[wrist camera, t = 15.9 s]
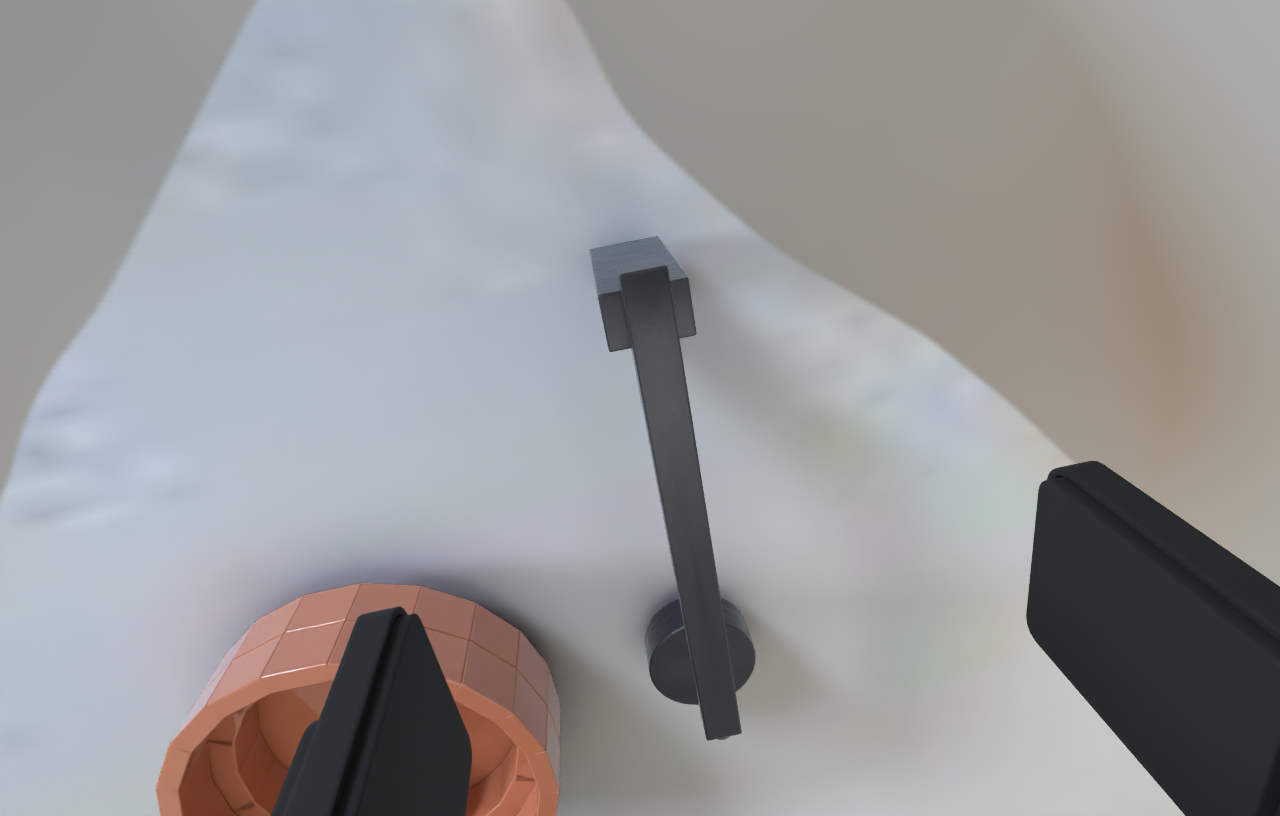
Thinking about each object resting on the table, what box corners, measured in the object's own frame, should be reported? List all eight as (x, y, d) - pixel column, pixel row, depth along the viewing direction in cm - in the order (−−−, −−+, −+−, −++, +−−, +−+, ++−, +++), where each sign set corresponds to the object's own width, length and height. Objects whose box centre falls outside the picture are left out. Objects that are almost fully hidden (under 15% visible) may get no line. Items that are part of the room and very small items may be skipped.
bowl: (158, 615, 28) (79, 715, 23) (514, 542, 28) (504, 626, 23) (296, 844, 34) (254, 960, 29) (588, 782, 34) (591, 886, 29)
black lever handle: (553, 234, 23) (548, 288, 16) (686, 209, 23) (737, 251, 16) (653, 683, 32) (678, 843, 25) (750, 662, 32) (802, 817, 25)
